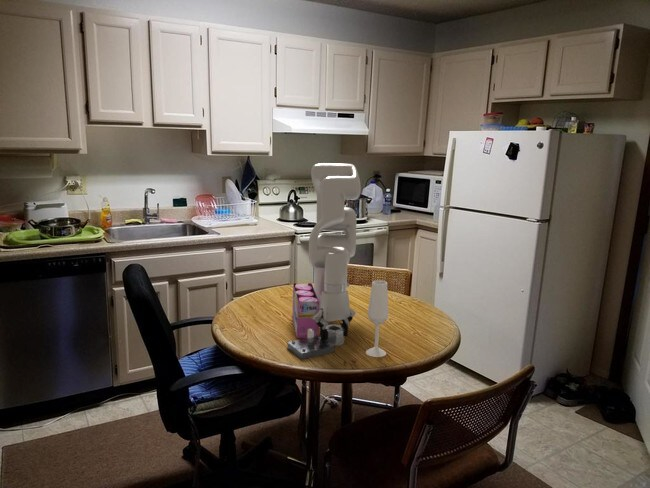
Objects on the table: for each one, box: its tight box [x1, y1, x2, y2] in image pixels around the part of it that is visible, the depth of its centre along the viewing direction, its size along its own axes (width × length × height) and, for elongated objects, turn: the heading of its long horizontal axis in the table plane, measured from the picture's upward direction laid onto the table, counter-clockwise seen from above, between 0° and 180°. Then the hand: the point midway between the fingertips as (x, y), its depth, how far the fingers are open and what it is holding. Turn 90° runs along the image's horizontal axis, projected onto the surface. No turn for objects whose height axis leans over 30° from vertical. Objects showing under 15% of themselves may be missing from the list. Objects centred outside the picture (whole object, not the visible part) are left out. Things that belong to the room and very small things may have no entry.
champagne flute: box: [365, 280, 389, 358], centre depth 155 cm, size 7×7×24 cm
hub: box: [326, 323, 345, 347], centre depth 165 cm, size 7×7×5 cm
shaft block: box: [286, 329, 335, 360], centre depth 157 cm, size 12×10×7 cm
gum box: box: [292, 282, 320, 339], centre depth 178 cm, size 24×8×14 cm, turn 8°
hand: (333, 336), depth 164 cm, fingers open, 7 cm apart
